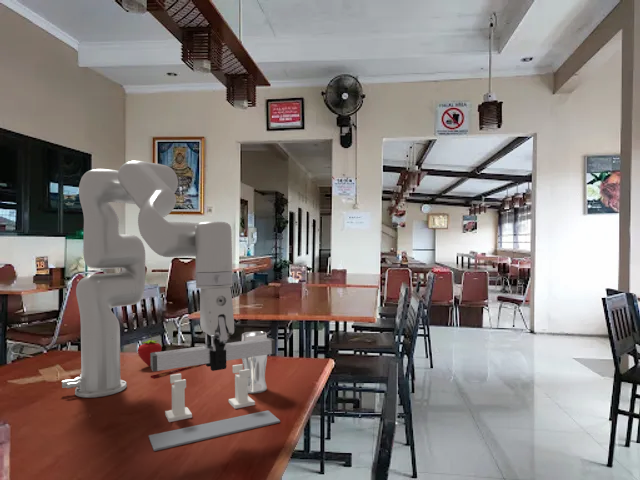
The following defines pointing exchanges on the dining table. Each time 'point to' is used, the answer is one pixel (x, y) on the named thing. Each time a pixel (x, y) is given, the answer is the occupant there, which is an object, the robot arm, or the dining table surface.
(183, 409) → the standard left
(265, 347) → the steel rail
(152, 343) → the strawberry
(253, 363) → the silver metal cup
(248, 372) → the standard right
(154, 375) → the chopstick
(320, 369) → the dining table surface
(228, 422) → the mat
